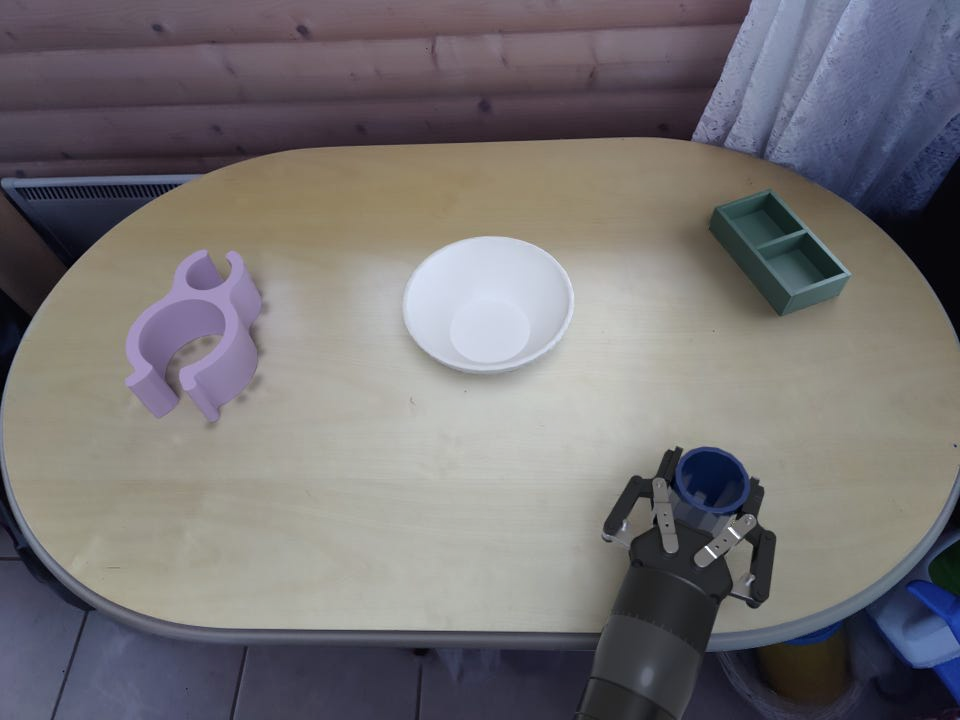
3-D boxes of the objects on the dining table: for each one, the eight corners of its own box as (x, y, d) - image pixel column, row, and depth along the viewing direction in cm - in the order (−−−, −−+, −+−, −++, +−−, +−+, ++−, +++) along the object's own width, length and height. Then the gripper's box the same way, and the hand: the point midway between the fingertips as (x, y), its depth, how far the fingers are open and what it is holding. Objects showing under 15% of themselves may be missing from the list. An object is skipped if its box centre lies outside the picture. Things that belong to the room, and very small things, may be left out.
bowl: (529, 428, 75) (529, 396, 69) (379, 365, 81) (369, 331, 75) (595, 303, 84) (600, 265, 79) (457, 255, 90) (453, 217, 85)
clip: (193, 284, 90) (170, 247, 84) (283, 289, 88) (267, 252, 83) (133, 416, 79) (102, 384, 73) (236, 424, 77) (213, 392, 72)
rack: (780, 316, 82) (791, 296, 79) (708, 228, 91) (714, 206, 87) (839, 295, 83) (852, 274, 80) (762, 210, 92) (770, 188, 89)
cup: (730, 510, 67) (759, 465, 58) (708, 564, 64) (736, 525, 56) (671, 482, 69) (690, 435, 60) (647, 533, 66) (665, 491, 57)
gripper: (760, 680, 47) (813, 479, 55) (568, 588, 52) (643, 414, 60) (733, 696, 54) (784, 514, 62) (564, 613, 58) (632, 452, 66)
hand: (714, 465), depth 61 cm, fingers closed on cup, 6 cm apart
